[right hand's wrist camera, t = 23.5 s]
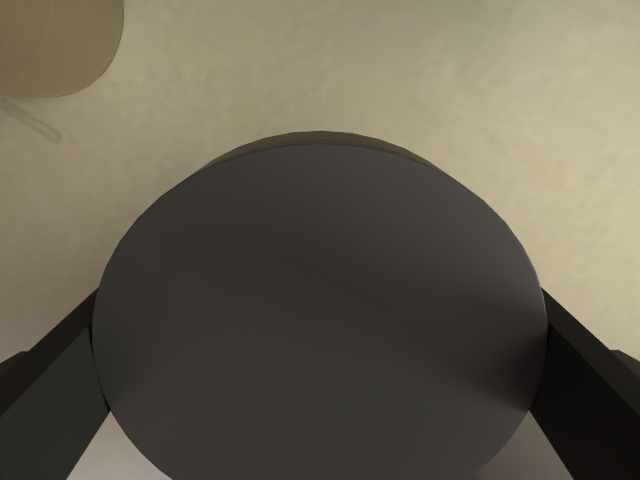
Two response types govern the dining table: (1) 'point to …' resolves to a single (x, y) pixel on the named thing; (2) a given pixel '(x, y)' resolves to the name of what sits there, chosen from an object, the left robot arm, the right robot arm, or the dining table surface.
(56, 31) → the jar
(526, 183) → the dining table surface
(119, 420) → the lid
